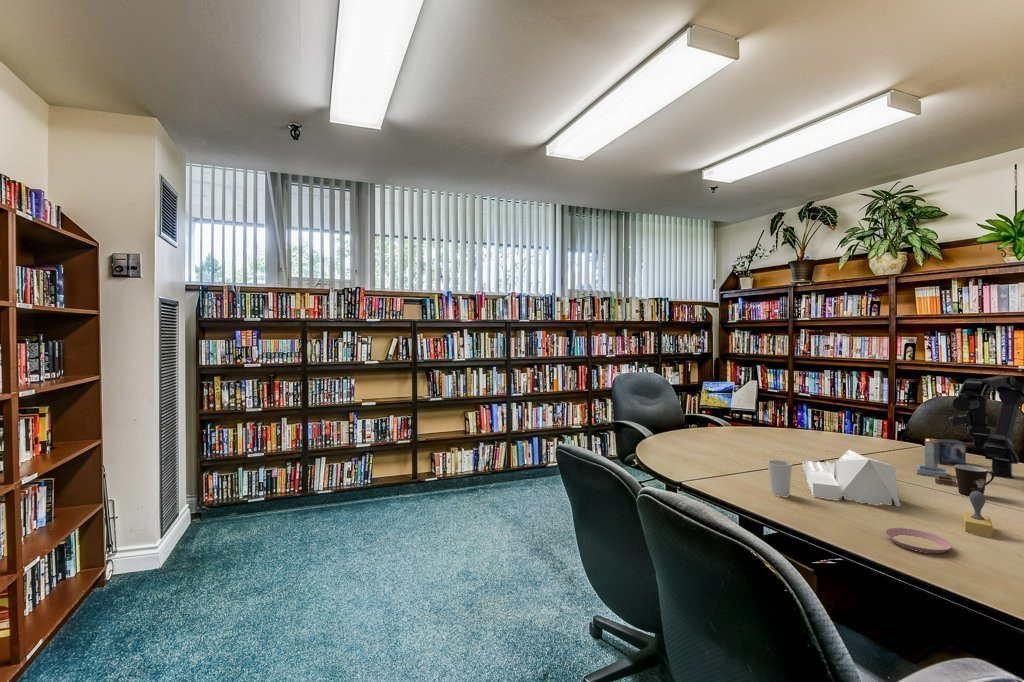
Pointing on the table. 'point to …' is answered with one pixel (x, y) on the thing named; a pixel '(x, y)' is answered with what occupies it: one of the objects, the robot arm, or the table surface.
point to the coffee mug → (971, 479)
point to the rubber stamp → (977, 517)
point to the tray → (930, 473)
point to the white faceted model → (853, 479)
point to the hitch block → (945, 480)
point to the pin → (931, 454)
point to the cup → (779, 477)
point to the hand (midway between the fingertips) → (977, 448)
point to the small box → (951, 452)
